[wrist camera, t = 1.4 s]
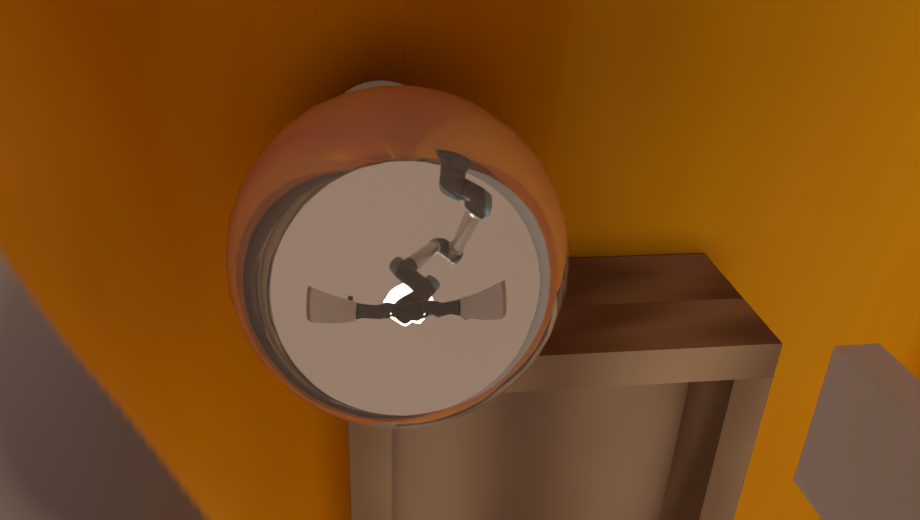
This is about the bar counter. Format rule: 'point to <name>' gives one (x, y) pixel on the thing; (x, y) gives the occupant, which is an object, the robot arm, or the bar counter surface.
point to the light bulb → (397, 256)
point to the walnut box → (596, 411)
